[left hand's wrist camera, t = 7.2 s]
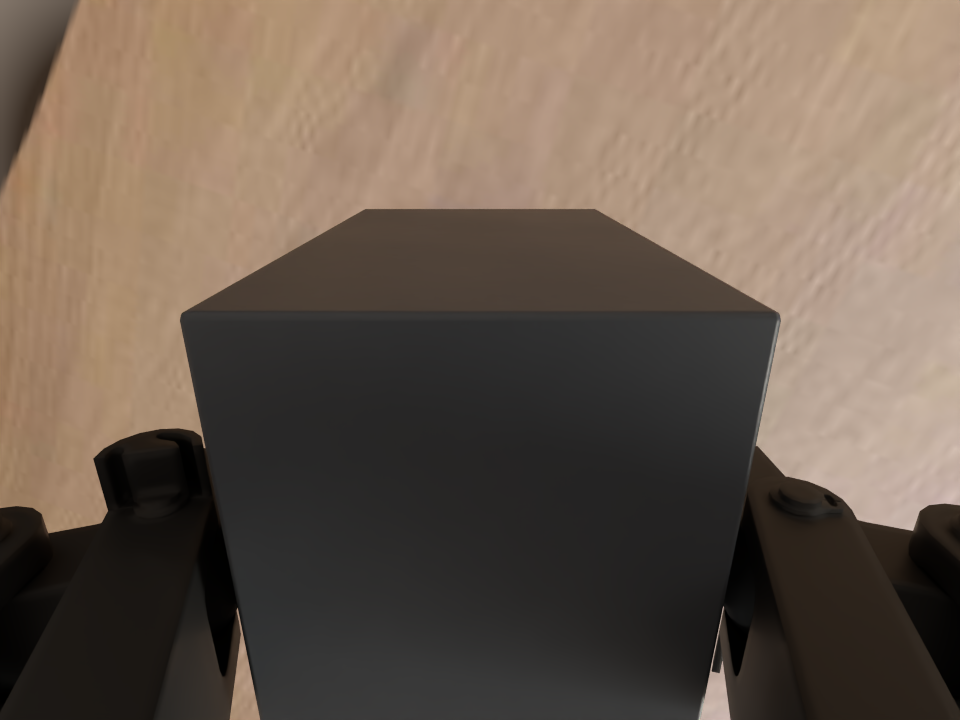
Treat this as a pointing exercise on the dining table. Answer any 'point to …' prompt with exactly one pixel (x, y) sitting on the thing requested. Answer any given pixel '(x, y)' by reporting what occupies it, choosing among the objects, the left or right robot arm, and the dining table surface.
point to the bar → (480, 465)
